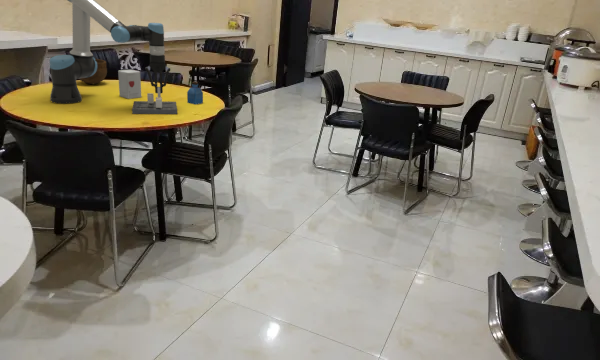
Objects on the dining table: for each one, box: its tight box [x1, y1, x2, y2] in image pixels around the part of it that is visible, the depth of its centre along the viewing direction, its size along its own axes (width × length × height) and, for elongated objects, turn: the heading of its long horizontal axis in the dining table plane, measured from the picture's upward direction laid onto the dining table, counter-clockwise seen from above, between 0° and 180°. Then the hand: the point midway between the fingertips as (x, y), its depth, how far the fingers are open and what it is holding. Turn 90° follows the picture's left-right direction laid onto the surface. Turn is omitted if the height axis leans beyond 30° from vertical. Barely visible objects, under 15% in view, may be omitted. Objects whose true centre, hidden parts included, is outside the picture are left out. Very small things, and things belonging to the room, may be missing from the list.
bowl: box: [79, 58, 108, 85], centre depth 291 cm, size 19×19×15 cm
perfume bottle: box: [186, 81, 204, 105], centre depth 263 cm, size 6×6×12 cm
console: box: [131, 100, 178, 115], centre depth 243 cm, size 22×19×2 cm
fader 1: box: [146, 92, 155, 103], centre depth 245 cm, size 3×5×5 cm, turn 16°
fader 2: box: [155, 96, 163, 108], centre depth 237 cm, size 3×5×5 cm, turn 16°
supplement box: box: [117, 69, 142, 100], centre depth 265 cm, size 9×9×15 cm
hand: (159, 99), depth 246 cm, fingers closed
